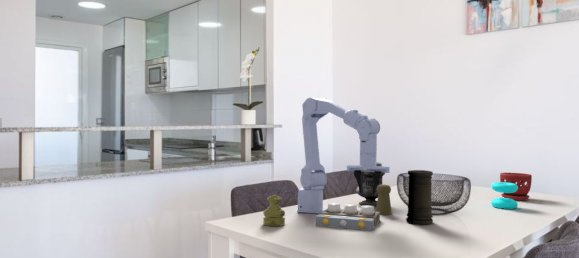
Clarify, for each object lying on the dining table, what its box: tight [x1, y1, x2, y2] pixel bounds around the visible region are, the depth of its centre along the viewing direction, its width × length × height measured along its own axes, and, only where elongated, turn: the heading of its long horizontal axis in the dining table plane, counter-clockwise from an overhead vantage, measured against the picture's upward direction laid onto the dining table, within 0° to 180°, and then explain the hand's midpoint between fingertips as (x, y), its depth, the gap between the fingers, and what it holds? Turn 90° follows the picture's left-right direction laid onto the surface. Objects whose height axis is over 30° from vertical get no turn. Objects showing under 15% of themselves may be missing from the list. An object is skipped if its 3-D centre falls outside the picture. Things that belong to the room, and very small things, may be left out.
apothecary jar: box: [355, 161, 386, 207], centre depth 191 cm, size 12×12×18 cm
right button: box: [360, 205, 375, 216], centre depth 156 cm, size 4×4×4 cm
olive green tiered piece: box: [262, 194, 286, 228], centre depth 152 cm, size 7×7×10 cm
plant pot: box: [499, 172, 533, 201], centre depth 208 cm, size 13×13×12 cm
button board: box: [321, 207, 381, 227], centre depth 158 cm, size 19×10×3 cm, turn 70°
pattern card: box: [315, 214, 375, 231], centre depth 150 cm, size 19×4×3 cm, turn 70°
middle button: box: [343, 203, 358, 214], centre depth 158 cm, size 4×4×4 cm
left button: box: [327, 202, 341, 213], centre depth 160 cm, size 4×4×4 cm
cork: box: [375, 184, 393, 216], centre depth 172 cm, size 6×6×11 cm
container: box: [405, 169, 434, 226], centre depth 157 cm, size 9×9×18 cm
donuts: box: [490, 181, 519, 210], centre depth 187 cm, size 10×10×10 cm
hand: (367, 192), depth 156 cm, fingers open, 4 cm apart
